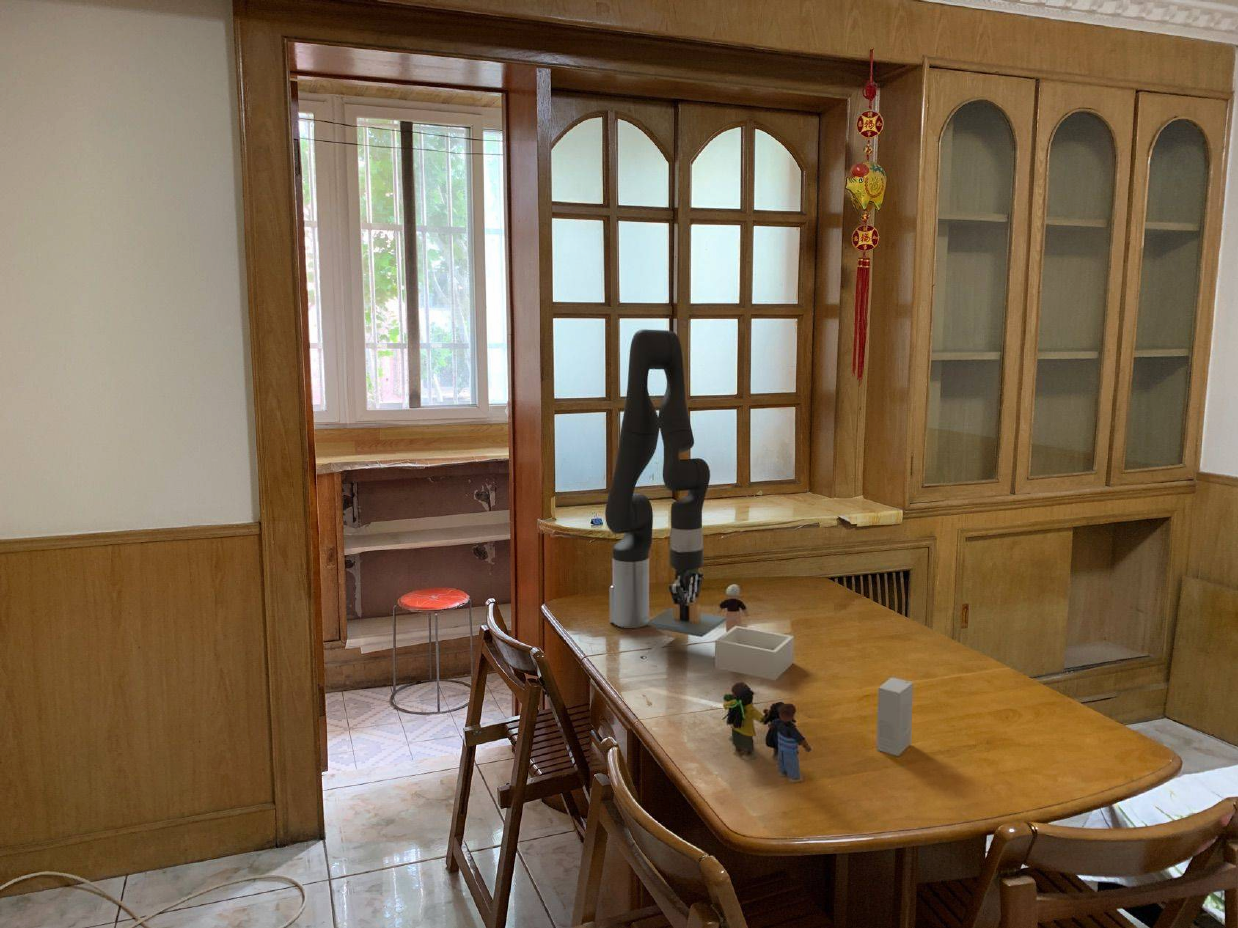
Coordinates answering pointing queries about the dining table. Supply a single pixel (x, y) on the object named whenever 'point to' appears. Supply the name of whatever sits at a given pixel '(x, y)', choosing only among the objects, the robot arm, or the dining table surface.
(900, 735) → the skincare box
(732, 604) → the grandmother figurine
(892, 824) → the dining table surface
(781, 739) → the doll family
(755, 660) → the small white cabinet
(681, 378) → the robot arm
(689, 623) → the lid
